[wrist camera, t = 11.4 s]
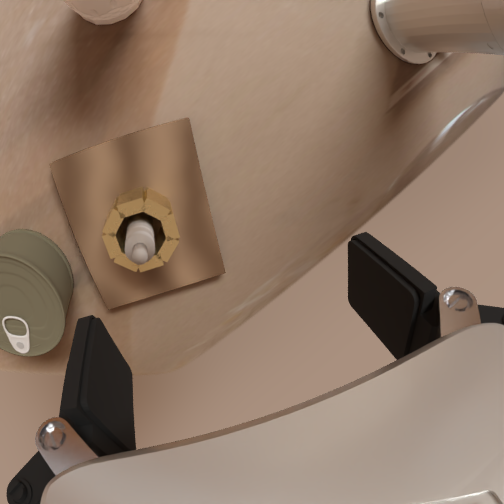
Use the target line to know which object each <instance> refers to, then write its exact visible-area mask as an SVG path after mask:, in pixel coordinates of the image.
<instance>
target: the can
mask: <svg viewBox="0 0 504 504" xmlns="http://www.w3.org/2000/svg"><path fill="white" fill-rule="evenodd" d="M72 292H73V274H72V270H71V267H70V264H69V262H68V260H67V258H66V256H65V255H64V253H63V252H62V251H61V249H60V248H59V247H58V246H57V245H56V244H55V243H54V242H53V241H52V240H50V239H49V238H48V237H46V236H44V235H42V234H41V233H38V232H36V231H32V230H27V229H17V230H12V231H9V232H7V233H5V234H3V235H2V236H1V237H0V348H1V349H2V350H4V351H7V352H9V353H12V354H15V355H20V356H38V355H42V354H45V353H47V352H49V351H50V350H52V349H53V348H54V347H55V346H56V345H57V344H58V343H59V341H60V340H61V338H62V336H63V333H64V329H65V322H66V314H67V310H68V306H69V302H70V299H71V296H72Z"/></svg>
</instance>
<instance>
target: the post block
mask: <svg viewBox="0 0 504 504" xmlns="http://www.w3.org/2000/svg"><path fill="white" fill-rule="evenodd" d="M49 165H50V168H51V171H52V175H53V178H54V181H55V184H56V187H57V190H58V193H59V196H60V199H61V201H62V204H63V207H64V210H65V212H66V215H67V218H68V220H69V223H70V226H71V228H72V231H73V233H74V236H75V238H76V241H77V243H78V246H79V248H80V250H81V253H82V255H83V257H84V260H85V262H86V264H87V266H88V269H89V271H90V273H91V275H92V277H93V280H94V282H95V284H96V286H97V288H98V290H99V292H100V294H101V296H102V298H103V300H104V302H105V304H106V306H107V308H108V310H109V309H112V308H115V307H119V306H122V305H125V304H128V303H132V302H135V301H138V300H141V299H145V298H148V297H151V296H154V295H157V294H161V293H164V292H167V291H170V290H173V289H177V288H180V287H183V286H186V285H189V284H192V283H196V282H199V281H202V280H205V279H208V278H211V277H214V276H218V275H221V274H224V273H226V272H225V268H224V265H223V261H222V257H221V253H220V249H219V245H218V241H217V237H216V233H215V228H214V224H213V220H212V216H211V212H210V208H209V204H208V199H207V195H206V191H205V187H204V182H203V178H202V174H201V169H200V165H199V161H198V156H197V152H196V147H195V143H194V138H193V134H192V129H191V125H190V120H189V118H184V119H180V120H176V121H172V122H169V123H165V124H161V125H158V126H154V127H151V128H147V129H144V130H141V131H137V132H134V133H131V134H128V135H125V136H121V137H118V138H115V139H112V140H109V141H107V142H104V143H101V144H98V145H95V146H92V147H90V148H87V149H84V150H82V151H79V152H76V153H74V154H71V155H69V156H66V157H64V158H61V159H59V160H56V161H54V162H52V163H51V164H49ZM140 187H143V189H144V191H145V189H146V188H147V187H148V188H150V189H152V190H154V191H156V192H158V193H159V194H161V195H163V196H165V197H167V198H168V201H170V203H171V207H172V210H173V214H174V218H175V221H176V225H177V228H178V232H179V236H180V238H179V243H178V245H177V247H176V248H175V250H174V252H173V253H172V255H171V257H170V259H169V260H168V262H165V261H163V263H164V265H163V266H160V267H156V268H153V269H150V270H147V271H143V272H140V270H139V268H138V270H137V271H136V272H134V271H132V270H130V269H128V268H126V267H123V266H121V265H119V264H117V263H114V258H113V259H110V256H109V254H108V251H107V248H106V246H105V243H104V241H103V238H102V234H103V232H102V230H103V227H104V224H105V221H106V218H107V215H108V213H109V211H110V209H111V207H112V205H113V203H114V201H115V199H116V197H119V196H120V194H121V193H124V192H127V191H130V190H133V189H136V188H140ZM161 227H162V223H161V220H159V219H157V218H155V217H153V216H151V215H149V214H147V213H145V212H141V213H137V214H134V215H131V216H128V217H125V218H124V219H123V221H122V223H121V228H122V231H123V234H124V236H126V241H125V254H126V256H127V258H128V259H129V260H130V261H132V262H134V263H135V264H137V265H142V264H144V263H146V262H148V261H149V260H151V259H152V257H153V256H154V253H155V241H154V238H155V237H156V235H157V234H158V232H159V230H160V228H161Z"/></svg>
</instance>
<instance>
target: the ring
mask: <svg viewBox="0 0 504 504" xmlns="http://www.w3.org/2000/svg"><path fill="white" fill-rule="evenodd" d="M141 212H145V213H147V214H149V215H151V216H153V217H155V218H157V219H159V220H161V223H162V227H161V228H160V230H159V232H158V234H157V235H156V237H155V238H154V241H155V253H154V256H153V257H152V259H151V260H149V261H148V262H146V263H144V264H142V265H137V264H135V263H134V262H132V261H130V260H129V259H128V258H127V256H126V254H125V241H126V236H124V234H123V231H122V228H121V223H122V221H123V219H124V218H125V217H128V216H131V215H134V214H137V213H141ZM102 232H103V234H102V238H103V241H104V243H105V246H106V248H107V251H108V254H109V256H110V259H113V258H114V263H117V264H119V265H121V266H123V267H126V268H128V269H130V270H132V271H134V272H136V271H137V270H138V268H139V270H140V272H143V271H147V270H150V269H153V268H156V267H160V266H163V265H164V263H163V261H165V262H168V260H169V259H170V257H171V255H172V253H173V252H174V250H175V248H176V247H177V245H178V243H179V238H180V236H179V232H178V228H177V225H176V221H175V218H174V214H173V210H172V207H171V203H170V201H168V198H167V197H165V196H163V195H161V194H159V193H158V192H156V191H154V190H152V189H150V188H148V187H147V188H146V189H145V191H144V189H143V187H140V188H136V189H133V190H130V191H127V192H124V193H121V194H120V196H119V197H116V199H115V201H114V203H113V205H112V207H111V209H110V211H109V213H108V215H107V218H106V221H105V224H104V227H103V230H102Z"/></svg>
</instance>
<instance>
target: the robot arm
mask: <svg viewBox="0 0 504 504" xmlns="http://www.w3.org/2000/svg"><path fill="white" fill-rule="evenodd" d="M371 14H372V19H373V22H374V25H375V28H376V30H377V32H378V34H379V36H380V38H381V39H382V41H383V43H384V44H385V45H386V46H387V48H388V49H389V50H390V51H391V52H392V53H393V54H394V55H395V56H397V57H398V58H400V59H401V60H403V61H405V62H408V63H412V64H422V63H427V62H428V61H430V60H431V59H432V58H433V57H434V56H435V55H436V53H437V52H459V53H483V54H496V55H504V0H371ZM436 289H437V287H436V285H434V284H433V283H432V282H431V281H430V280H428V279H427V278H426V277H425V276H423V275H422V274H421V273H420V272H418V271H417V270H416V269H415V268H413V267H412V266H411V265H409V264H408V263H407V262H406V261H404V260H403V259H402V258H400V257H399V256H398V255H396V254H395V253H394V252H393V251H391V250H390V249H389V248H387V247H386V246H385V245H383V244H382V243H381V242H379V241H378V240H377V239H375V238H374V237H373V236H371V235H370V234H369V233H367V232H364V233H361V234H358V235H355V236H353V237H352V238H351V241H349V242H348V300H349V303H350V305H351V307H352V308H353V309H354V310H355V311H356V312H357V313H358V315H359V316H360V317H361V318H362V319H363V320H364V322H365V323H366V324H367V325H368V326H369V327H370V328H371V330H372V331H373V332H374V333H375V334H376V336H377V337H378V338H379V339H380V340H381V342H382V343H383V344H384V345H385V346H386V347H387V349H388V350H389V351H390V352H391V353H392V355H393V356H394V357H395V358H396V359H397V360H396V361H394V362H393V363H390V364H389V365H387V366H385V367H383V368H381V369H379V370H376V371H375V372H372V373H370V374H368V375H366V376H364V377H362V378H360V379H357V380H355V381H354V382H351V383H349V384H346V385H344V386H342V387H340V388H337V389H335V390H333V391H330V392H328V393H325V394H323V395H321V396H318V397H316V398H313V399H311V400H308V401H306V402H303V403H301V404H298V405H295V406H292V407H290V408H287V409H285V410H282V411H279V412H276V413H273V414H270V415H267V416H264V417H261V418H258V419H256V420H252V421H249V422H246V423H242V424H239V425H236V426H233V427H229V428H226V429H223V430H219V431H215V432H212V433H208V434H204V435H201V436H196V437H193V438H188V439H185V440H180V441H175V442H171V443H166V444H162V445H157V446H153V447H148V448H143V449H138V450H136V443H135V429H134V414H133V384H132V372H131V369H130V367H129V365H128V364H127V362H126V361H125V359H124V358H123V356H122V354H121V353H120V351H119V350H118V348H117V346H116V345H115V343H114V341H113V340H112V338H111V336H110V335H109V333H108V331H107V330H106V328H105V326H104V324H103V323H102V321H101V319H100V318H95V317H94V316H93V315H91V316H87V317H84V318H80V319H78V321H77V325H76V329H75V334H74V338H73V343H72V347H71V352H70V357H69V361H68V364H67V369H66V374H65V380H64V386H63V393H62V400H61V406H60V414H59V417H53V418H50V419H48V420H46V421H45V422H43V423H42V425H41V426H40V427H39V429H38V431H37V433H36V438H35V442H36V446H37V448H38V450H39V451H38V452H37V453H36V454H35V455H34V456H33V457H32V458H31V459H30V461H29V462H28V463H27V464H26V465H25V466H24V467H23V468H22V469H21V470H20V471H19V472H18V474H17V475H16V476H15V477H14V478H13V479H12V480H11V482H10V483H9V485H8V488H7V500H8V503H9V504H504V308H500V307H492V306H484V305H478V304H477V300H476V298H475V296H474V295H473V294H472V293H471V292H470V291H468V290H466V289H464V288H460V287H449V288H446V289H444V290H443V291H442V292H441V293H439V292H438V291H437V290H436Z"/></svg>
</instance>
